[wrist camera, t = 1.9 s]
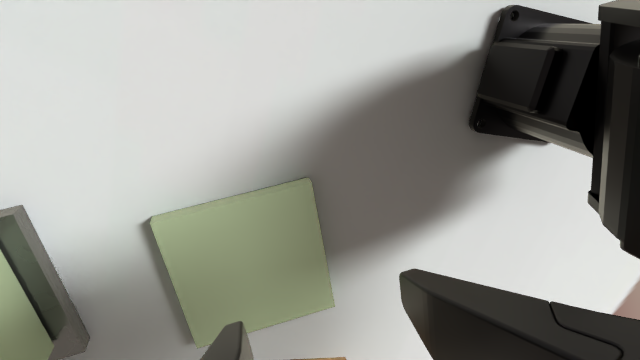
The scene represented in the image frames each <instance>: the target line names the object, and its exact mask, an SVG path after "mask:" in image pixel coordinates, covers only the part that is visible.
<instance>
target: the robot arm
mask: <svg viewBox="0 0 640 360" xmlns="http://www.w3.org/2000/svg"><path fill="white" fill-rule="evenodd" d="M512 12H513V13H514V17H513V19H512V20H511V19H510V15H511V13H512ZM598 20H600V21H601V24H592V23H588V22H584V21H580V20H576V19H572V18H567V17H563V16H559V15H555V14H551V13H547V12H543V11H539V10H535V9H531V8H527V7H523V6H519V5H509V6H507V7H506V8H505V9H504V10H503V11H502V13H501V17H500V20H499V23H498V27H497V30H496V33H495V37H494V40H493V43H492V46H491V48H490V51H489V54H488V58H487V61H486V64H485V68H484V71H483V74H482V78H481V81H480V84H479V88H478V91H477V93H478V94H477V97H476V100H475V104H474V107H473V110H472V114H471V117H470V120H469V126H470V128H471V130H473V131H476V132H478V133H485V134H492V135H500V136H507V137H514V138H522V139H529V140H536V141H544V142H551V143H553V144H556V145H559V146H562V147H564V148H567V149H570V150H572V151H575V152H578V153H581V154H583V155H586V156H589V157H592V158H593V166H592V183H591V190H590V191H589V192H588V204H589V205H590V206H591V207H592V208H593V209H594V210H595V211H596V212H597V213H598V214H599V215H600V218H601V221H602V224H603V225H604V226H605V227H606V228H607V229H608V230H609V231H610V232H611V233H612V234H613V235H614V236H615V237H616V238H617V239H619V240H620V248H621V249H623V250H624V251H625V252H627V253H629V254H630V255H632V256H634V257H636V258H638V259H640V0H616V1H612V2H609V3H605V4H601V5H599V12H598ZM480 119H481V124H480V125H479V126H477V123H478V121H479V120H480ZM399 280H400V290H401V299H402V304H403V307H404V309H405V311H406V313H407V315H408V317H409V318H410V320H411V322H412V324H413V325H414V327H415V329H416V331H417V332H418V334H419V336H420V338H421V340H422V341H423V343H424V345H425V347H426V348H427V350H428V352H429V353H430V355H431V357H432V358H433V359H434V360H640V320H637V319H631V318H626V317H621V316H616V315H611V314H606V313H600V312H595V311H591V310H587V309H582V308H578V307H573V306H569V305H565V304H561V303H557V302H550V304H549V302H548V301H546V300H542V299H538V298H534V297H530V296H526V295H521V294H517V293H513V292H509V291H505V290H501V289H497V288H493V287H489V286H484V285H480V284H476V283H472V282H468V281H464V280H460V279H456V278H452V277H447V276H443V275H439V274H435V273H431V272H427V271H423V270H419V269H411V270H408V271H404V272H402V273H400V276H399ZM200 360H254V359H253V354H252V349H251V346H250V343H249V339H248V336H247V333H246V329H245V326H244V324H243V322H242V321H237V322H234V323H231V324H227V325H225V326H224V327H223V329H222V330H221V332H220V333H219V334H218V336H217V337H216V339H215V340H214V341H213V343H212V344H211V345H210V347H209V348H208V350H207V351H206V352H205V354H204V355H203V357H202V358H201V359H200Z"/></svg>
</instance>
